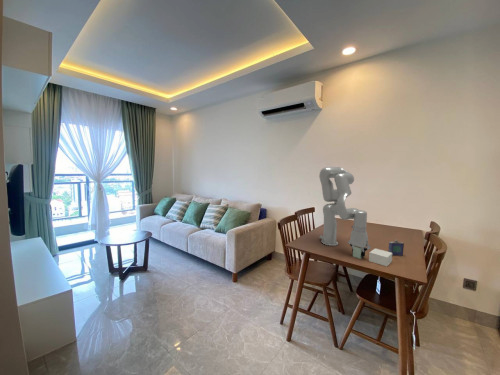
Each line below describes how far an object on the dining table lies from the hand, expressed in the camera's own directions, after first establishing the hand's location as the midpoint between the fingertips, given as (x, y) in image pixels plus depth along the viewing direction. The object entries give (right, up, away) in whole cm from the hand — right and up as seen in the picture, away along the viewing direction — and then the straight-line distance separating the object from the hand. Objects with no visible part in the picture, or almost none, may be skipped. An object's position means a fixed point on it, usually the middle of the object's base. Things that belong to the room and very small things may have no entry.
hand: (358, 255), depth 141 cm
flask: (+27, -1, +3) cm, 27 cm away
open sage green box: (0, -1, 0) cm, 1 cm away
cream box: (+10, -2, -7) cm, 13 cm away
